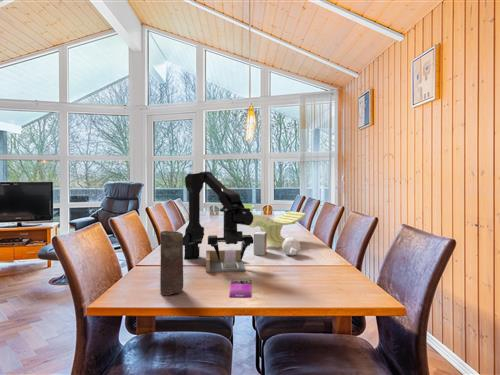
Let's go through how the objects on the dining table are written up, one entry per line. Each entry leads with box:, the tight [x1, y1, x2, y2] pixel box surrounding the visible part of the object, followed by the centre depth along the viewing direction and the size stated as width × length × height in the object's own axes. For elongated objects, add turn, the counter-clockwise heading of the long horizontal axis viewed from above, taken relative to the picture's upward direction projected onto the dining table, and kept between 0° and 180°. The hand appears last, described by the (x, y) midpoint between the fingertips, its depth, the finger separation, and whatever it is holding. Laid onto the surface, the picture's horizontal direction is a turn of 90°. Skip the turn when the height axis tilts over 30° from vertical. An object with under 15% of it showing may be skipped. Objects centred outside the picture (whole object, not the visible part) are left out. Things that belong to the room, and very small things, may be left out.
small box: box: [253, 231, 267, 256], centre depth 149 cm, size 8×6×10 cm
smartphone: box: [228, 279, 253, 299], centre depth 100 cm, size 7×15×1 cm, turn 0°
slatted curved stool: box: [248, 210, 307, 249], centre depth 171 cm, size 30×16×18 cm, turn 126°
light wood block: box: [224, 249, 237, 268], centre depth 126 cm, size 8×4×7 cm, turn 8°
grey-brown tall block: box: [159, 230, 184, 296], centre depth 97 cm, size 8×7×20 cm
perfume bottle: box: [281, 236, 301, 257], centre depth 145 cm, size 9×9×12 cm
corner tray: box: [205, 249, 247, 274], centre depth 126 cm, size 16×16×5 cm
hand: (230, 260), depth 123 cm, fingers open, 9 cm apart
